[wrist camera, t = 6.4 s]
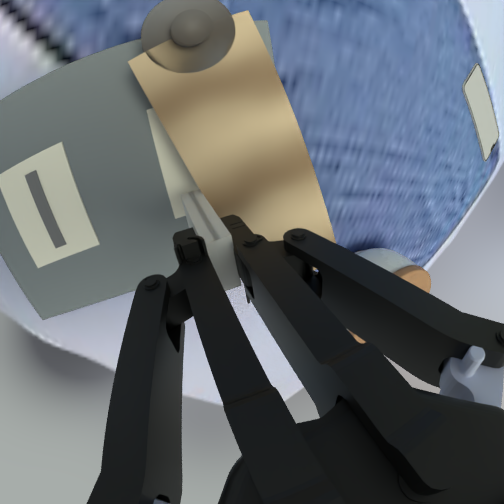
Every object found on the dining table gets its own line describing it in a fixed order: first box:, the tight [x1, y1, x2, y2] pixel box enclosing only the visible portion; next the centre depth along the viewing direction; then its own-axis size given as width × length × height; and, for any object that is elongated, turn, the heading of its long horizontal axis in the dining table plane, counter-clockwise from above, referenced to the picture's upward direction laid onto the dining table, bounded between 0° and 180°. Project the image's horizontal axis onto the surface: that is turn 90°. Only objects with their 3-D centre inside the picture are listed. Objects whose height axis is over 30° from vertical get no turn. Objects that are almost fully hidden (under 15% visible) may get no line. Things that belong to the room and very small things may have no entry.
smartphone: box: [462, 63, 499, 161], centre depth 27 cm, size 7×1×15 cm
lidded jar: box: [346, 248, 431, 343], centre depth 28 cm, size 11×11×9 cm
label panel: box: [0, 21, 275, 320], centre depth 17 cm, size 18×24×2 cm
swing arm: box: [128, 0, 336, 270], centre depth 16 cm, size 22×7×3 cm, turn 24°
